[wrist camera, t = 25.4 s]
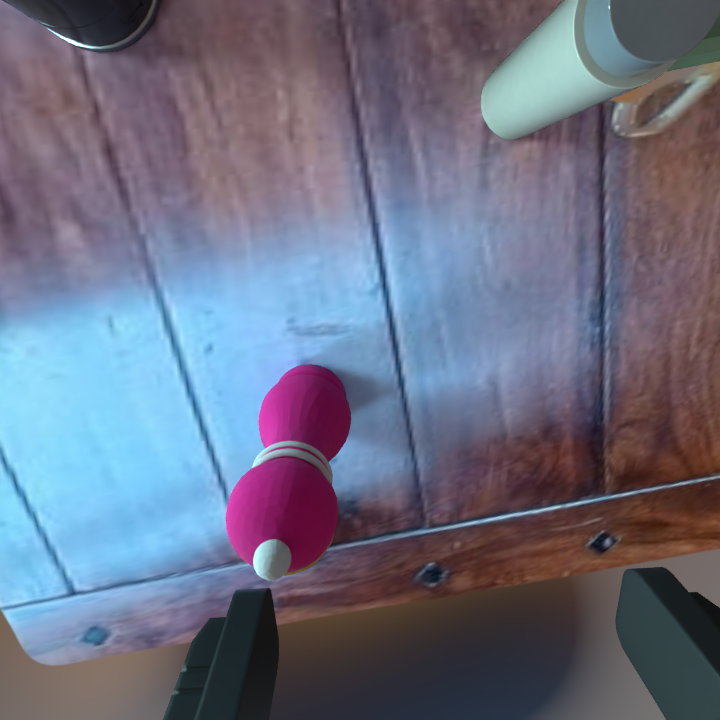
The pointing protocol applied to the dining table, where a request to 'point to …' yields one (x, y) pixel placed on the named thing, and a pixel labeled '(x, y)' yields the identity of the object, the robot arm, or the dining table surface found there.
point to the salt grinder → (589, 59)
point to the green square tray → (702, 50)
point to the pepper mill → (291, 475)
